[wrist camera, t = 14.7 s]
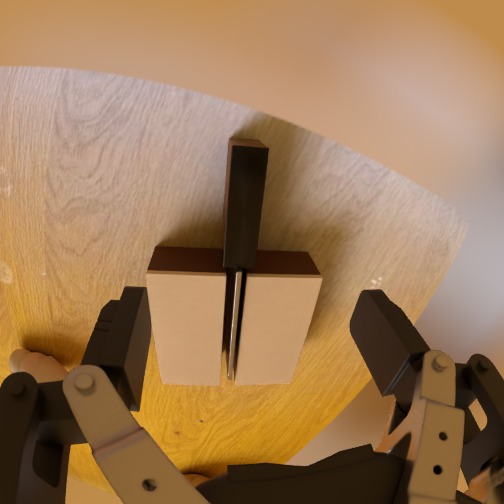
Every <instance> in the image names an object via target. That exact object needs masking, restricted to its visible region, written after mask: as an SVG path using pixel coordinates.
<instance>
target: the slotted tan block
mask: <svg viewBox="0 0 504 504" xmlns="http://www.w3.org/2000/svg"><path fill="white" fill-rule="evenodd" d="M241 269H242V278H241V288H240V298H239V308H238V319H237V329H236V340H235V350H234V361H233V369H234V379H235V385H236V386H238V385H267V384H284V383H291V382H292V379H293V376H294V373H295V370H296V367H297V364H298V361H299V358H300V355H301V352H302V349H303V345H304V342H305V339H306V336H307V332H308V329H309V326H310V322H311V319H312V316H313V312H314V309H315V305H316V301H317V298H318V294H319V291H320V287H321V283H322V279H323V277H322V276H321V274H320V272H319V271H318V269H317V267H316V265H315V264H314V262H313V260H312V258H311V257H310V255H309V253H308V252H292V251H265V250H257V253H256V261H255V268H241ZM146 278H147V288H148V297H149V305H150V313H151V320H152V327H153V334H154V341H155V347H156V353H157V359H158V364H159V370H160V375H161V380H162V384H176V385H205V386H220V377H221V357H222V339H223V322H224V306H225V291H226V268H224V267H223V260H222V249H212V248H184V247H155V249H154V252H153V255H152V258H151V261H150V264H149V267H148V269H147V272H146Z"/></svg>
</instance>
